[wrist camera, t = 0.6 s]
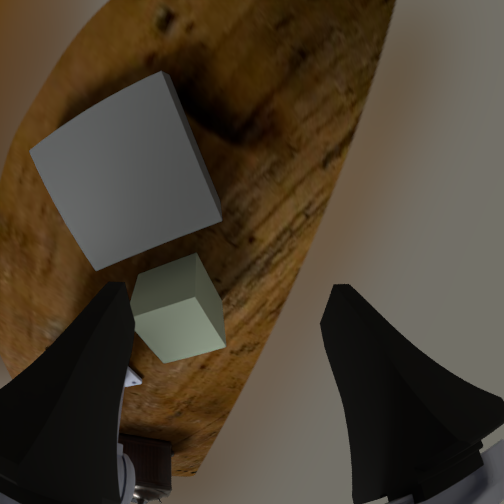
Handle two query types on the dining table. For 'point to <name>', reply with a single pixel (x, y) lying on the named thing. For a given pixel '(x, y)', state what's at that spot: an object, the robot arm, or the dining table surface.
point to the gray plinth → (128, 173)
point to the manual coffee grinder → (149, 466)
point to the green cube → (178, 310)
